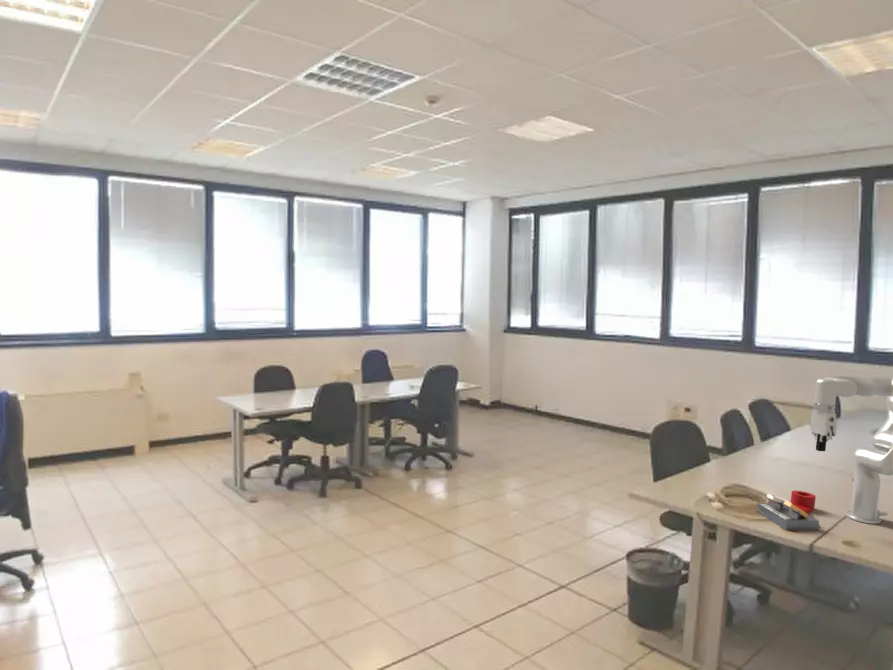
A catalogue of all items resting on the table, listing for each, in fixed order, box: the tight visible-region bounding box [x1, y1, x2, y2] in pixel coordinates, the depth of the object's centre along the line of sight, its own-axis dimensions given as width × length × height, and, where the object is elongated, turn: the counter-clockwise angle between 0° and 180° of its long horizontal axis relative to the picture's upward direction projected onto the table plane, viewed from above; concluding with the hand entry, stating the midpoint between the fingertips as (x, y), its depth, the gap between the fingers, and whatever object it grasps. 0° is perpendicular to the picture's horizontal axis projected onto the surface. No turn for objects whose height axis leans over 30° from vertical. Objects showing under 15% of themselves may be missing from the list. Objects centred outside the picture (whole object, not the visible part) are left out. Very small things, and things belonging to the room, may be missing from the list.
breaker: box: [766, 493, 791, 504], centre depth 264 cm, size 9×5×2 cm, turn 96°
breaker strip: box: [756, 500, 820, 531], centre depth 258 cm, size 14×20×6 cm
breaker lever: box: [784, 500, 810, 518], centre depth 253 cm, size 9×5×2 cm
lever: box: [790, 490, 817, 514], centre depth 271 cm, size 18×9×7 cm, turn 144°
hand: (820, 450), depth 256 cm, fingers closed
